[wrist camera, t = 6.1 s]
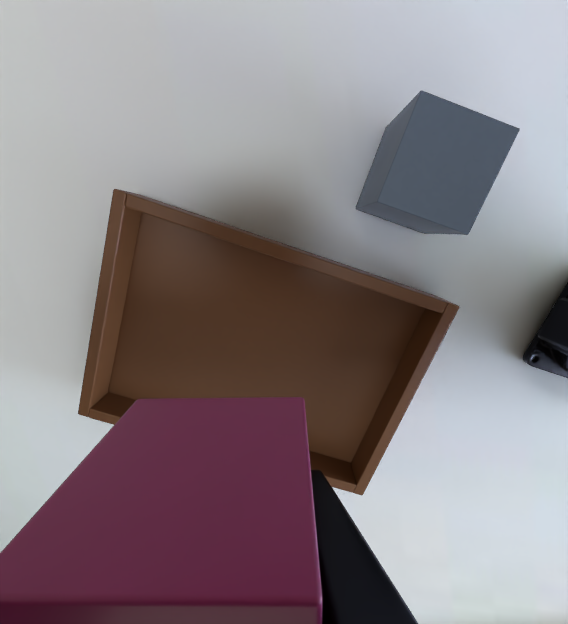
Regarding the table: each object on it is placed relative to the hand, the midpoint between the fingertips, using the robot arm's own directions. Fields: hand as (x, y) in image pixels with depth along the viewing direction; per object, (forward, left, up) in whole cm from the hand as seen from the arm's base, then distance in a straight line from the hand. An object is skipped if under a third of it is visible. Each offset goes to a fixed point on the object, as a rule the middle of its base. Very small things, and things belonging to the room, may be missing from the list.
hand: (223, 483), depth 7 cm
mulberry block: (0, 0, 0) cm, 1 cm away
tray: (0, +2, -13) cm, 13 cm away
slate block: (-5, -11, -13) cm, 17 cm away
